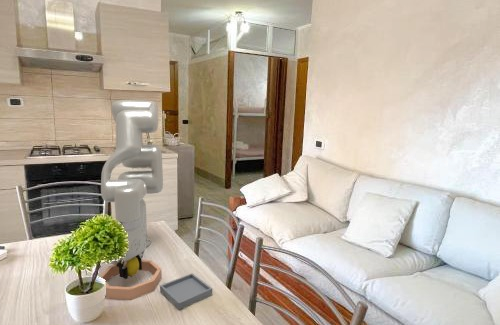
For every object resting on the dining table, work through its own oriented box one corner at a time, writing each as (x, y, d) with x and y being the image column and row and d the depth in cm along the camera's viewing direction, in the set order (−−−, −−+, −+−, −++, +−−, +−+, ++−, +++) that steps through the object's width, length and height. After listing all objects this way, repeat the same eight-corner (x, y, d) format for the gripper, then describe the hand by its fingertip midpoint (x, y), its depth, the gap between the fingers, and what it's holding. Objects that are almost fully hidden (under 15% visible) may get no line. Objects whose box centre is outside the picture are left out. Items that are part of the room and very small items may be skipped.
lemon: (134, 282, 107) (133, 260, 105) (118, 280, 108) (117, 258, 106) (142, 273, 112) (141, 252, 111) (128, 271, 113) (127, 250, 112)
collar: (93, 280, 110) (92, 271, 110) (145, 263, 123) (144, 254, 122) (113, 306, 97) (112, 296, 96) (169, 284, 109) (169, 275, 109)
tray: (160, 291, 105) (160, 285, 105) (192, 278, 113) (192, 273, 113) (179, 310, 97) (179, 303, 96) (212, 294, 104) (212, 288, 104)
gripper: (115, 235, 97) (118, 289, 101) (155, 216, 112) (157, 264, 116) (97, 230, 100) (101, 282, 104) (139, 212, 115) (141, 259, 119)
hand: (130, 272), depth 110 cm, fingers closed on lemon, 5 cm apart
